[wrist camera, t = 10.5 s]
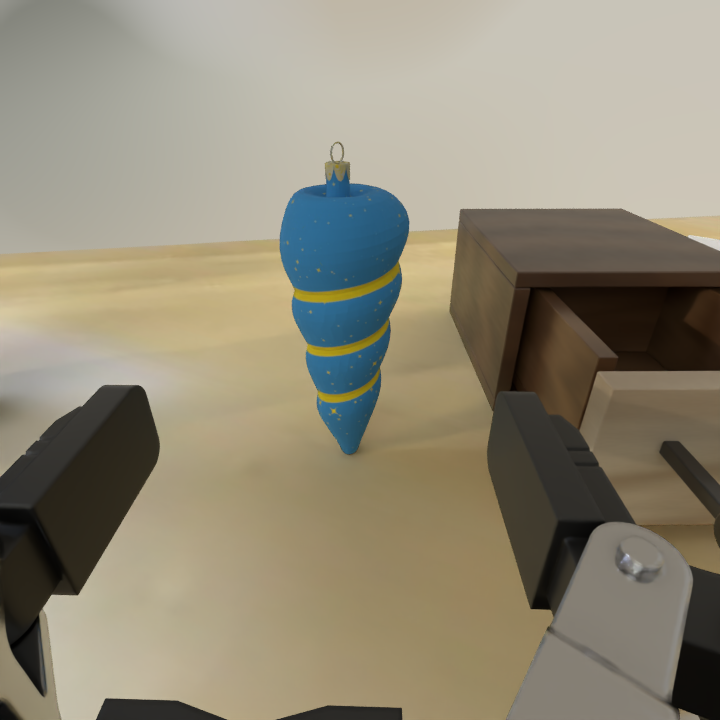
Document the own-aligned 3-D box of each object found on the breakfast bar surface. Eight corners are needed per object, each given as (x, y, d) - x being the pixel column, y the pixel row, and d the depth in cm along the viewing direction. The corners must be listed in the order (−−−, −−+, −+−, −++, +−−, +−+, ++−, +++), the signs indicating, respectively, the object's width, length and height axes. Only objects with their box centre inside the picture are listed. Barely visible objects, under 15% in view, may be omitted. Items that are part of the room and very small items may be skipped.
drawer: (976, 642, 15) (1160, 491, 12) (625, 645, 15) (705, 494, 11) (657, 360, 31) (694, 261, 27) (486, 361, 31) (502, 262, 27)
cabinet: (703, 410, 28) (768, 271, 23) (492, 411, 27) (517, 272, 23) (593, 310, 40) (621, 208, 36) (449, 311, 40) (460, 208, 36)
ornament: (414, 445, 25) (437, 140, 17) (359, 506, 21) (358, 152, 14) (338, 412, 27) (330, 133, 20) (278, 461, 24) (239, 143, 16)
